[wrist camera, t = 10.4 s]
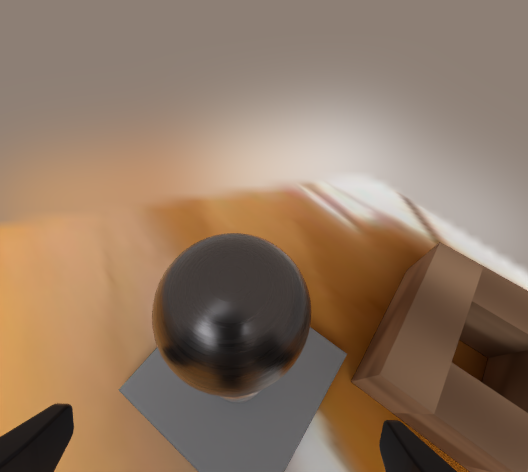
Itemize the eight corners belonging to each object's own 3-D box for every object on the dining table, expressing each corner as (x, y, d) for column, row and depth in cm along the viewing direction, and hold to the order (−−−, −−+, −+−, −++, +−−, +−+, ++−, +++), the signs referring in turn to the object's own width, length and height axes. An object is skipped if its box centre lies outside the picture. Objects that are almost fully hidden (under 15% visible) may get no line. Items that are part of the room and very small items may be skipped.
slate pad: (253, 523, 13) (254, 528, 12) (122, 390, 15) (118, 390, 15) (343, 355, 17) (347, 354, 17) (229, 271, 19) (229, 267, 19)
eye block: (511, 503, 14) (598, 533, 11) (350, 381, 16) (379, 374, 13) (538, 349, 18) (607, 335, 15) (407, 269, 20) (440, 242, 17)
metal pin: (265, 407, 15) (335, 402, 4) (204, 402, 15) (93, 381, 4) (269, 344, 17) (325, 210, 5) (214, 339, 16) (159, 193, 5)
